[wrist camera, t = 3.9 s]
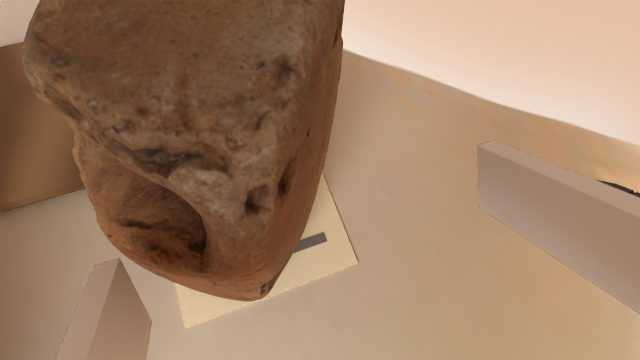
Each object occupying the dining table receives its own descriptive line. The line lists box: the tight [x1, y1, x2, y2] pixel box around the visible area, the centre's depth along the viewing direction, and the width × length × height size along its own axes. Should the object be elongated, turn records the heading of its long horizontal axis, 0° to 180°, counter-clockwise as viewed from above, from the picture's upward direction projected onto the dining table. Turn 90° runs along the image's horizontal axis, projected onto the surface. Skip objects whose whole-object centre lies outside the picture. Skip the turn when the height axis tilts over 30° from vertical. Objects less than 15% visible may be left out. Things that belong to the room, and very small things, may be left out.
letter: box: [174, 173, 358, 328], centre depth 29 cm, size 12×16×1 cm
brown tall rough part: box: [22, 0, 345, 302], centre depth 18 cm, size 11×8×20 cm
